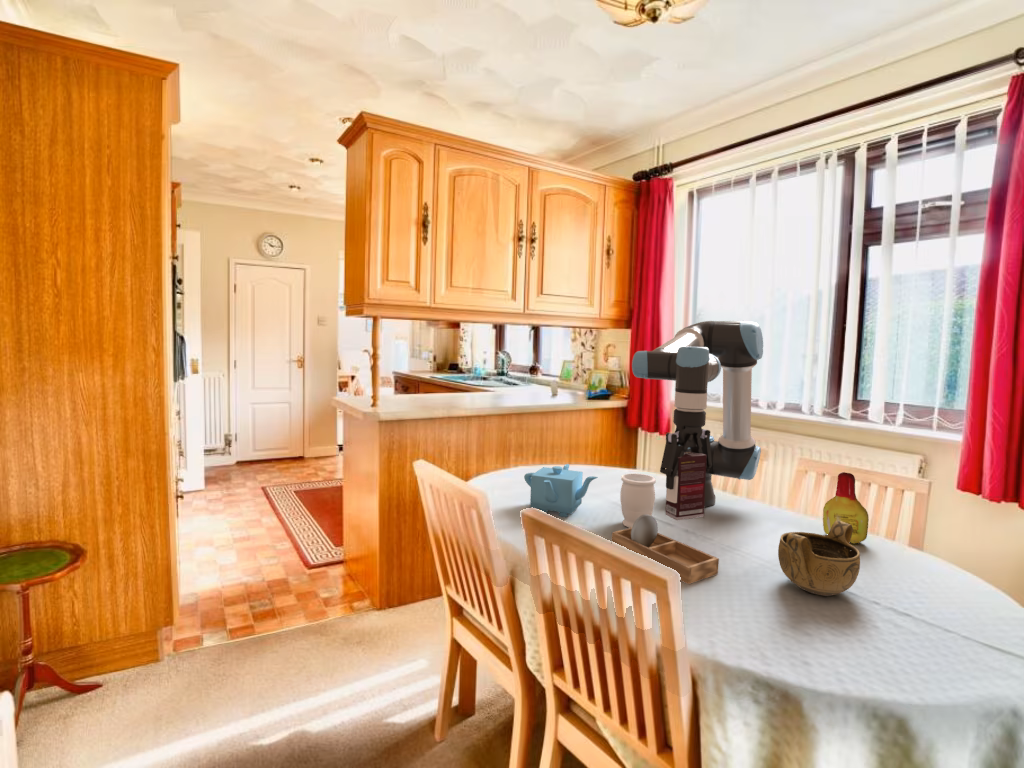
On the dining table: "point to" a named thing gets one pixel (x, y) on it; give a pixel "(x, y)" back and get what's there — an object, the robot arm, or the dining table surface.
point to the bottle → (846, 509)
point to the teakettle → (557, 489)
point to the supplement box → (689, 487)
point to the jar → (636, 497)
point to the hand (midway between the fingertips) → (684, 498)
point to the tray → (666, 550)
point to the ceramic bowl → (820, 560)
